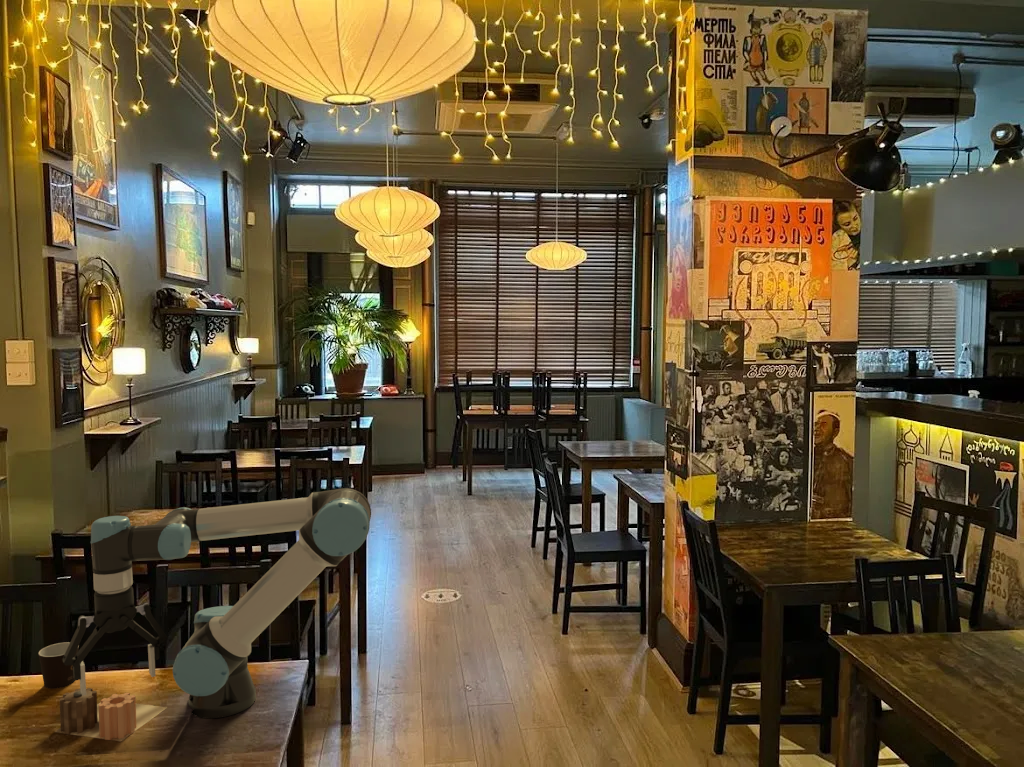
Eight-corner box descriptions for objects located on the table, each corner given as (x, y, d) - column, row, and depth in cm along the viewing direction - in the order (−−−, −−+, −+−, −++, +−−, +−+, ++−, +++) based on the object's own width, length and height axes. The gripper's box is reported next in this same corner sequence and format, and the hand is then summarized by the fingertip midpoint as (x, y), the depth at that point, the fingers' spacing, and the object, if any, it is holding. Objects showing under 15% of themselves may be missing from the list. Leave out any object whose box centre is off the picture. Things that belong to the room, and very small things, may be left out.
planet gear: (132, 719, 171) (131, 689, 170) (139, 733, 165) (138, 702, 165) (97, 729, 167) (96, 698, 166) (102, 743, 161) (101, 711, 160)
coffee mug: (61, 698, 184) (60, 658, 183) (31, 694, 186) (29, 655, 185) (96, 676, 195) (95, 639, 195) (68, 673, 197) (66, 636, 196)
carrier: (167, 713, 177) (166, 686, 176) (121, 747, 162) (120, 718, 162) (105, 705, 180) (104, 679, 180) (54, 738, 166) (53, 709, 165)
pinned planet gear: (104, 719, 171) (103, 687, 170) (80, 736, 164) (79, 702, 163) (78, 716, 172) (77, 683, 172) (52, 732, 165) (51, 698, 165)
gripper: (170, 572, 174) (175, 661, 176) (44, 596, 159) (50, 694, 161) (179, 580, 168) (183, 673, 170) (48, 606, 153) (54, 708, 155)
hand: (118, 683), depth 165 cm, fingers open, 13 cm apart
